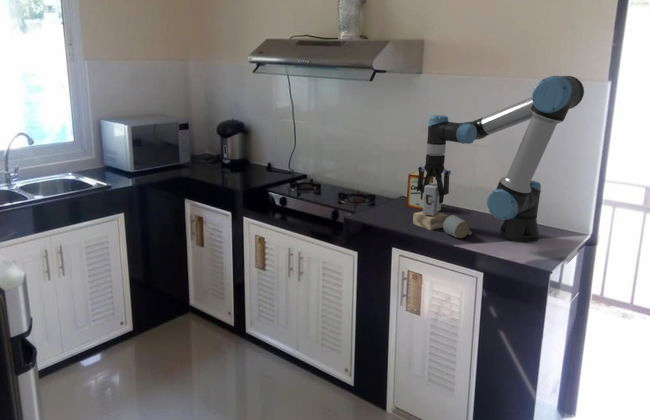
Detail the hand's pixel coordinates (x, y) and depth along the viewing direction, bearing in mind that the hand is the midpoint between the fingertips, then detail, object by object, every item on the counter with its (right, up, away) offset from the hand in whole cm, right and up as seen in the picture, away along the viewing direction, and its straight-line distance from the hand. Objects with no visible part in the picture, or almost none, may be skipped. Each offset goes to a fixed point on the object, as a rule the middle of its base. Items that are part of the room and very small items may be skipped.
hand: (431, 208), depth 230 cm
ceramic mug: (+9, -11, -11) cm, 17 cm away
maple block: (0, -7, +2) cm, 7 cm away
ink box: (0, -2, 0) cm, 2 cm away
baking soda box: (0, +1, +29) cm, 29 cm away
